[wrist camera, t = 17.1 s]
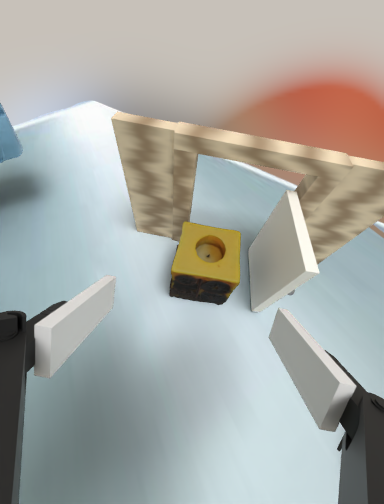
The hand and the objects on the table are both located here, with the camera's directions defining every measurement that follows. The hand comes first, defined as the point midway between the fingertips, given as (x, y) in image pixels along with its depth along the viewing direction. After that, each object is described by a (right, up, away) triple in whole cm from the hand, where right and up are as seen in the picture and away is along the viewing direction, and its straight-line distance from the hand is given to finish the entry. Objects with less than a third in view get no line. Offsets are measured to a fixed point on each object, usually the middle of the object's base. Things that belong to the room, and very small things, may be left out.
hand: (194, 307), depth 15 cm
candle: (+1, -1, +22) cm, 22 cm away
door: (+13, -1, +22) cm, 26 cm away
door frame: (+7, +6, +27) cm, 29 cm away
